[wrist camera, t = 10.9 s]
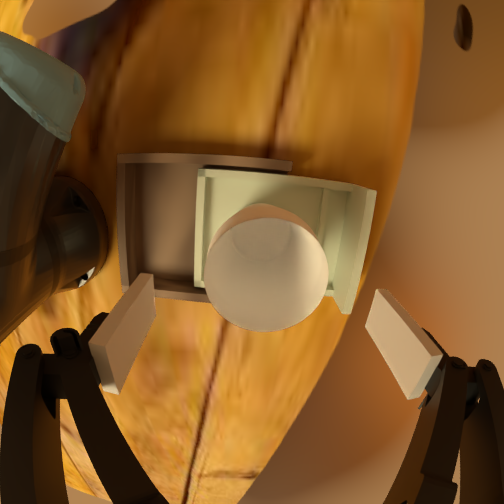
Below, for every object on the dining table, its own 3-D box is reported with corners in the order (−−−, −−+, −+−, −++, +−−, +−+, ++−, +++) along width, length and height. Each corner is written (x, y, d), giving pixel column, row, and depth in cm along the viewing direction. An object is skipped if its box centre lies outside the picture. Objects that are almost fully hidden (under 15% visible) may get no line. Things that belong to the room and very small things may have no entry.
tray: (197, 279, 33) (187, 304, 28) (201, 167, 29) (189, 170, 23) (336, 289, 34) (351, 314, 28) (355, 183, 30) (377, 191, 24)
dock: (132, 281, 34) (122, 292, 31) (129, 153, 29) (117, 153, 26) (272, 294, 35) (274, 307, 32) (288, 160, 29) (292, 161, 26)
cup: (293, 276, 32) (314, 338, 21) (214, 266, 32) (197, 325, 20) (308, 198, 29) (344, 226, 18) (224, 186, 29) (207, 206, 18)
